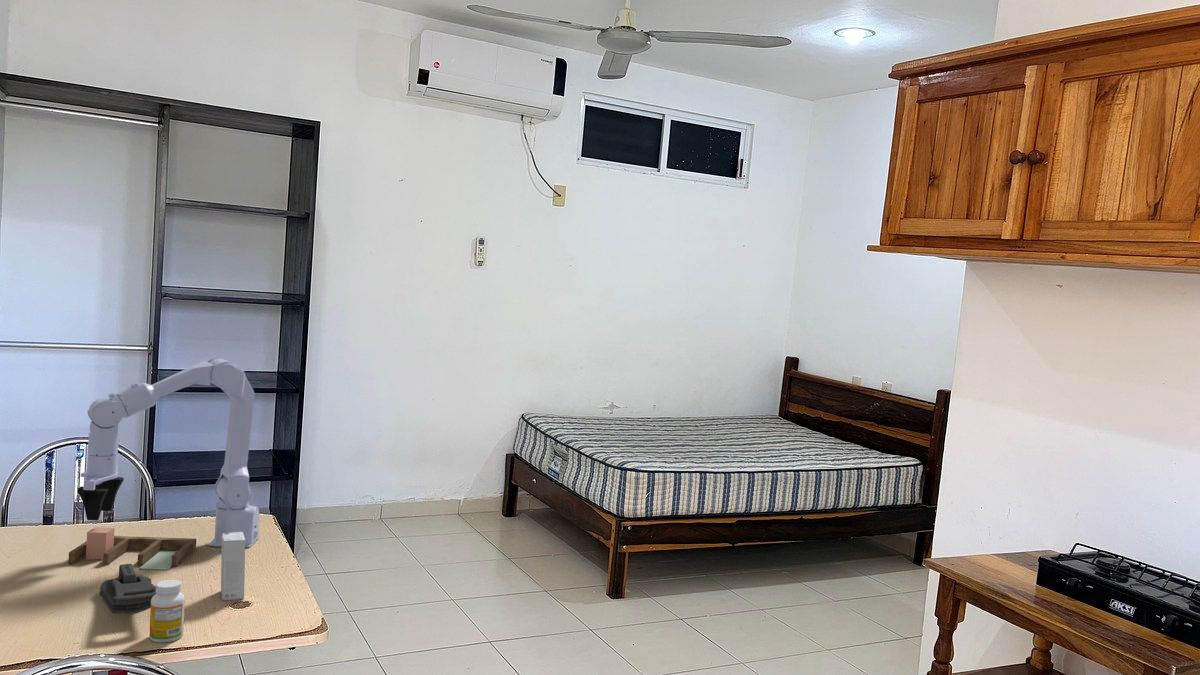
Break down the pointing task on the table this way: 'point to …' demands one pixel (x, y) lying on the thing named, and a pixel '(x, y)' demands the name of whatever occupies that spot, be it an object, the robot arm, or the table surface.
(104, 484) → the robot arm
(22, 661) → the table surface
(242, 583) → the skincare box
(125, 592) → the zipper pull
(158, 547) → the notched rack
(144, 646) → the table surface
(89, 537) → the terracotta block
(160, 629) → the supplement bottle
